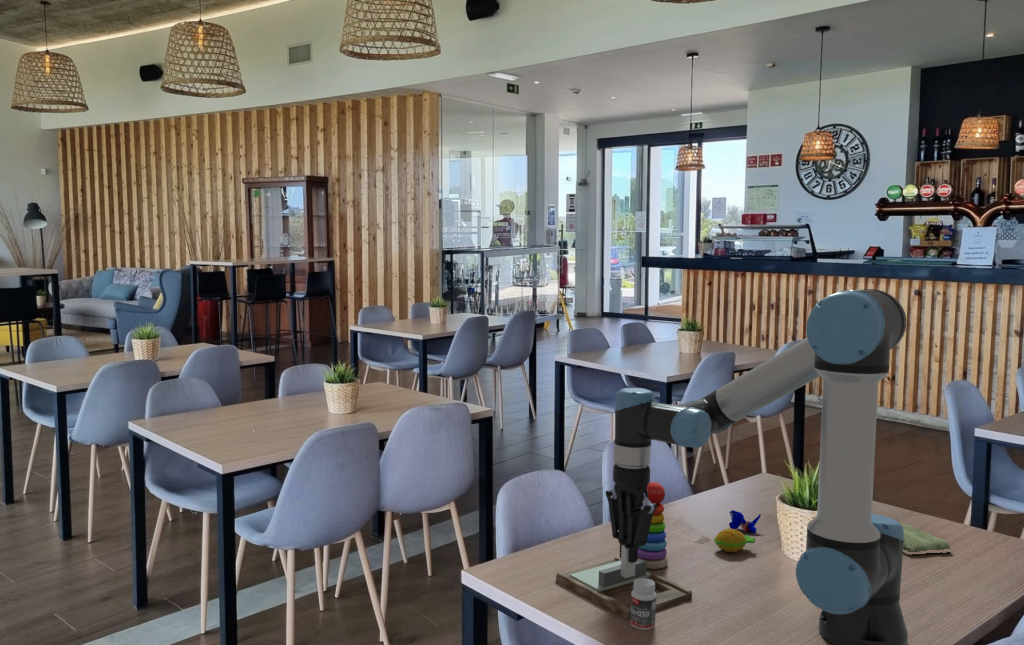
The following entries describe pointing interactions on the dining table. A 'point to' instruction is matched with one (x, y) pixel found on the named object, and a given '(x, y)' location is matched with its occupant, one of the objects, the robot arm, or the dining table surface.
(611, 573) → the lid
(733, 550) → the toy pineapple
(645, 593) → the pill bottle
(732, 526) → the figurine
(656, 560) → the stacking toy
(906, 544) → the washcloth
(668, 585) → the wooden frame
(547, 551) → the dining table surface
